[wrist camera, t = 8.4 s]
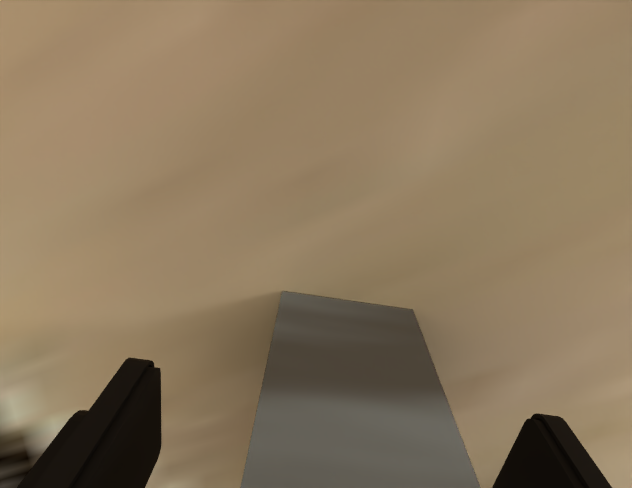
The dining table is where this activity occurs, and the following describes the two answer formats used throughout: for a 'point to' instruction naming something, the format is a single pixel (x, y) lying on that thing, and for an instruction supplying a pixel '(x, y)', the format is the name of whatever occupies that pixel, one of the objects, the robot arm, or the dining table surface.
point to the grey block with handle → (352, 403)
